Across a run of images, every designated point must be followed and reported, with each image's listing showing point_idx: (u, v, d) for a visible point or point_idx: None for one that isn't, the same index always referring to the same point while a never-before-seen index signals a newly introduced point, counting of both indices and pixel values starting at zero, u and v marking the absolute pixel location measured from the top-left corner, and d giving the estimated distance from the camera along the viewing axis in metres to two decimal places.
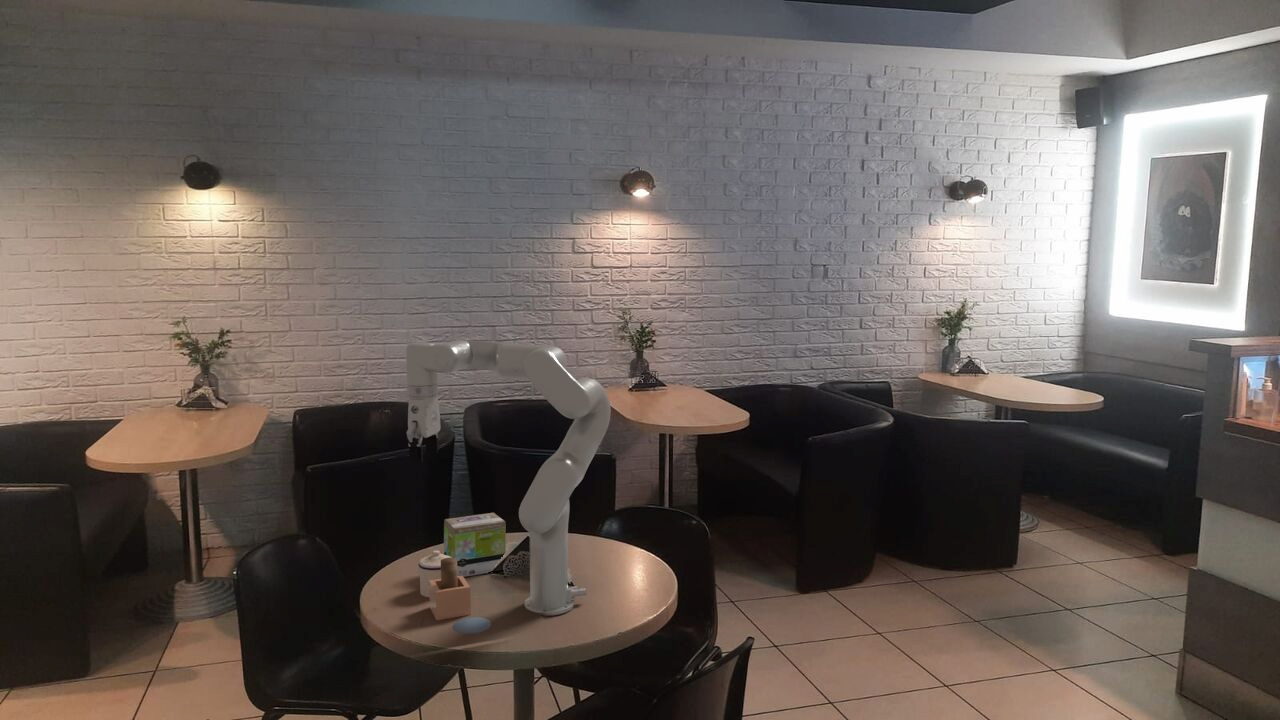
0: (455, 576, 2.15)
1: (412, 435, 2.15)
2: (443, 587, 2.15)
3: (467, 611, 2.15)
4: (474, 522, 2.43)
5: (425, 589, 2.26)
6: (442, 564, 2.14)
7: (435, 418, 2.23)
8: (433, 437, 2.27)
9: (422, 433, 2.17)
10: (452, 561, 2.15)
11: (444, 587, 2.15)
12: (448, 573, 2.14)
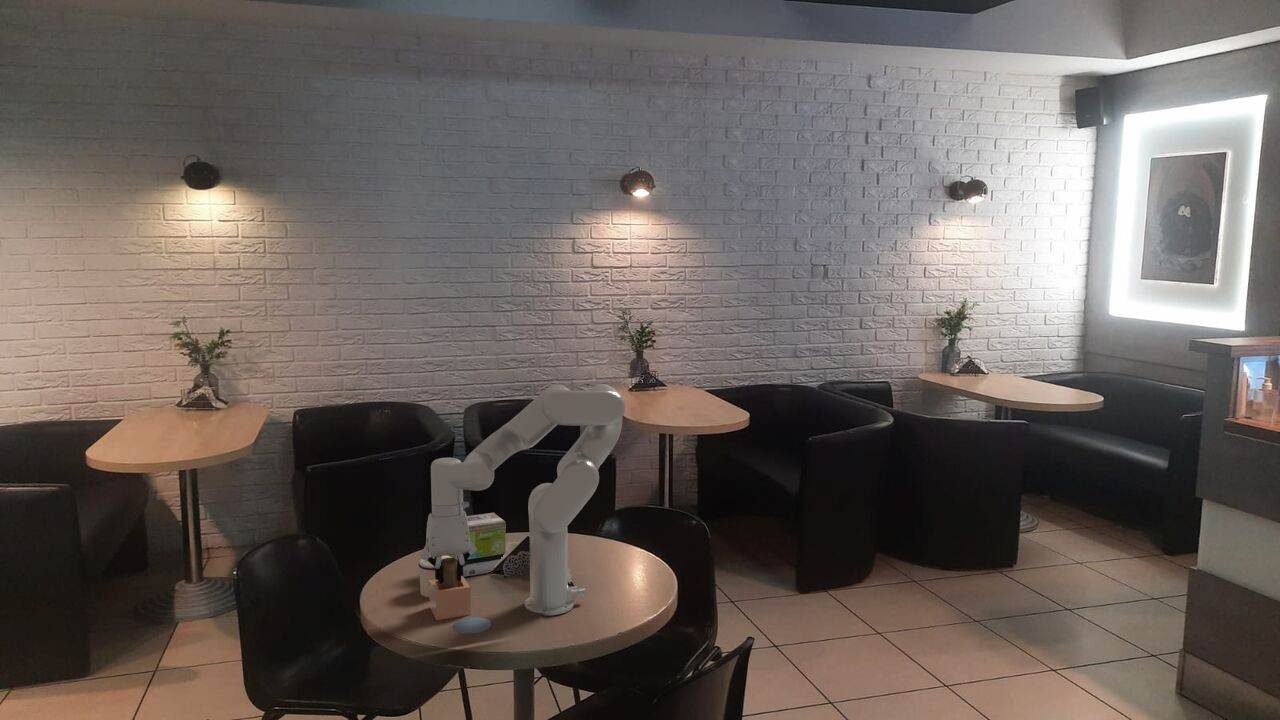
0: (455, 576, 2.15)
1: None
2: (443, 587, 2.15)
3: (467, 611, 2.15)
4: (474, 522, 2.43)
5: (425, 589, 2.26)
6: (442, 564, 2.14)
7: None
8: None
9: None
10: (452, 561, 2.15)
11: (444, 587, 2.15)
12: (448, 573, 2.14)
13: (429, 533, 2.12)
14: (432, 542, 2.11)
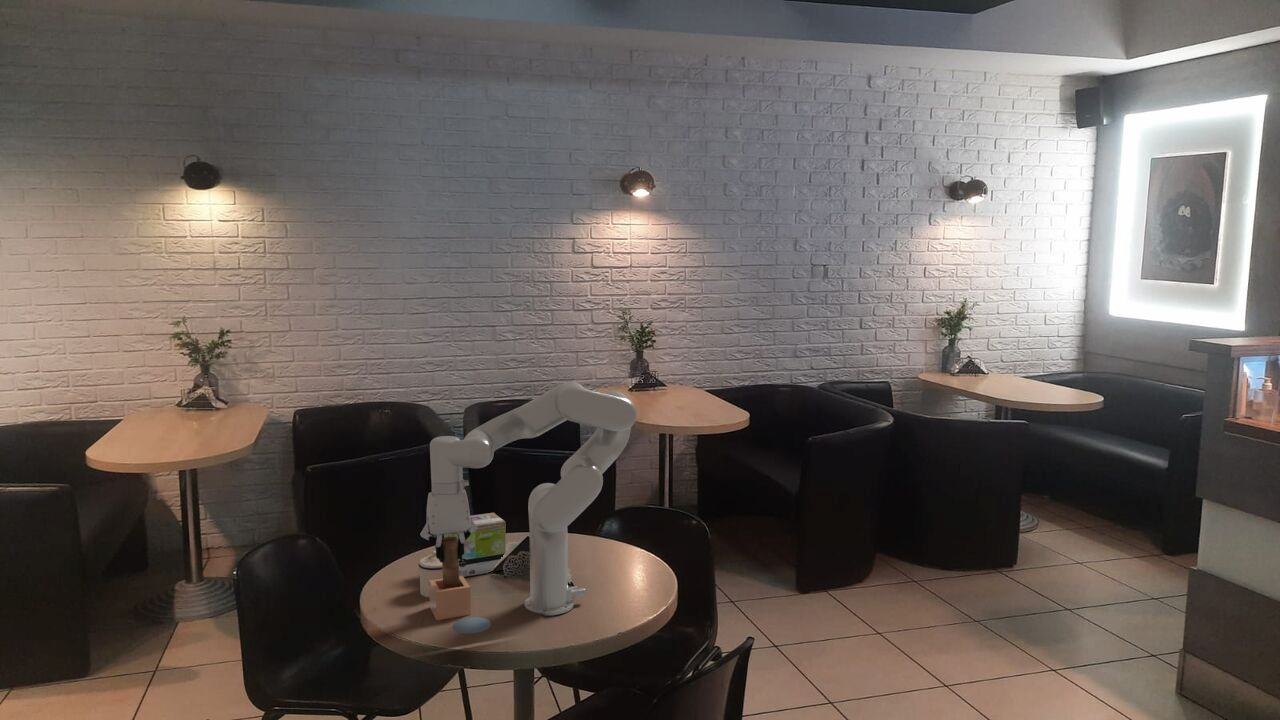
0: (456, 555, 2.15)
1: None
2: (444, 566, 2.14)
3: (467, 611, 2.15)
4: (474, 522, 2.43)
5: (425, 589, 2.26)
6: (443, 543, 2.14)
7: None
8: None
9: None
10: (453, 540, 2.14)
11: (445, 566, 2.14)
12: (449, 551, 2.14)
13: (429, 511, 2.11)
14: (432, 520, 2.11)
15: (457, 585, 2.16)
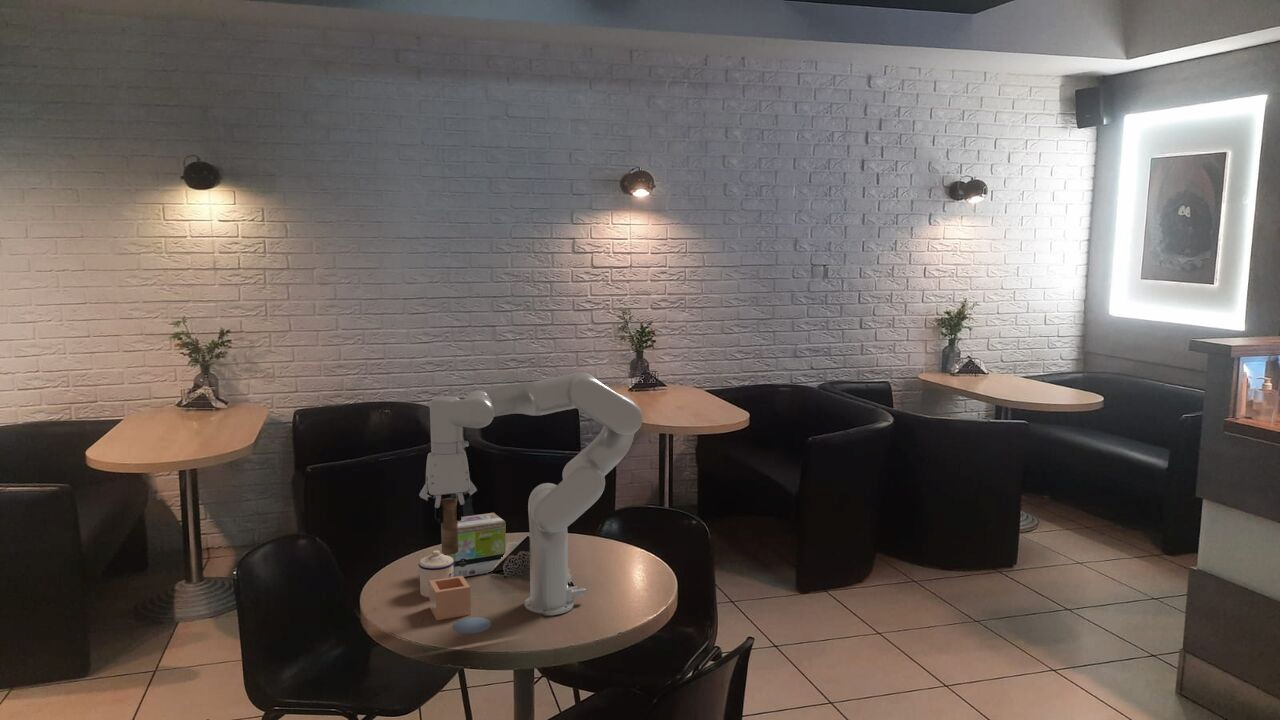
0: (455, 516, 2.13)
1: None
2: (443, 527, 2.13)
3: (467, 611, 2.15)
4: (474, 522, 2.43)
5: (425, 589, 2.26)
6: (442, 503, 2.12)
7: None
8: None
9: None
10: (452, 501, 2.13)
11: (444, 527, 2.13)
12: (448, 512, 2.12)
13: (428, 471, 2.10)
14: (431, 480, 2.09)
15: (456, 547, 2.14)
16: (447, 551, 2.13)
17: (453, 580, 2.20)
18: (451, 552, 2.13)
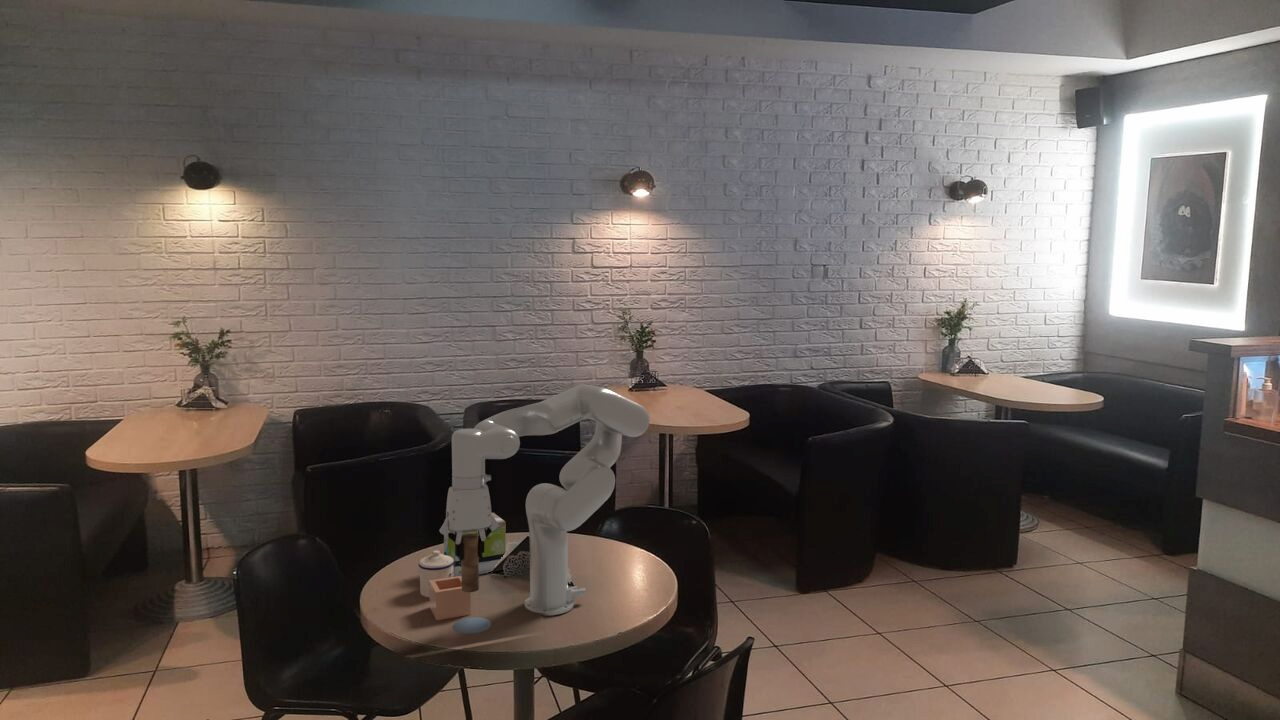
0: (476, 552, 2.06)
1: None
2: (463, 564, 2.05)
3: (467, 611, 2.15)
4: None
5: (425, 589, 2.26)
6: (462, 540, 2.05)
7: None
8: None
9: None
10: (473, 537, 2.05)
11: (464, 564, 2.05)
12: (469, 549, 2.05)
13: (449, 507, 2.02)
14: (453, 516, 2.02)
15: (476, 584, 2.07)
16: (467, 589, 2.06)
17: (453, 580, 2.20)
18: (472, 590, 2.06)
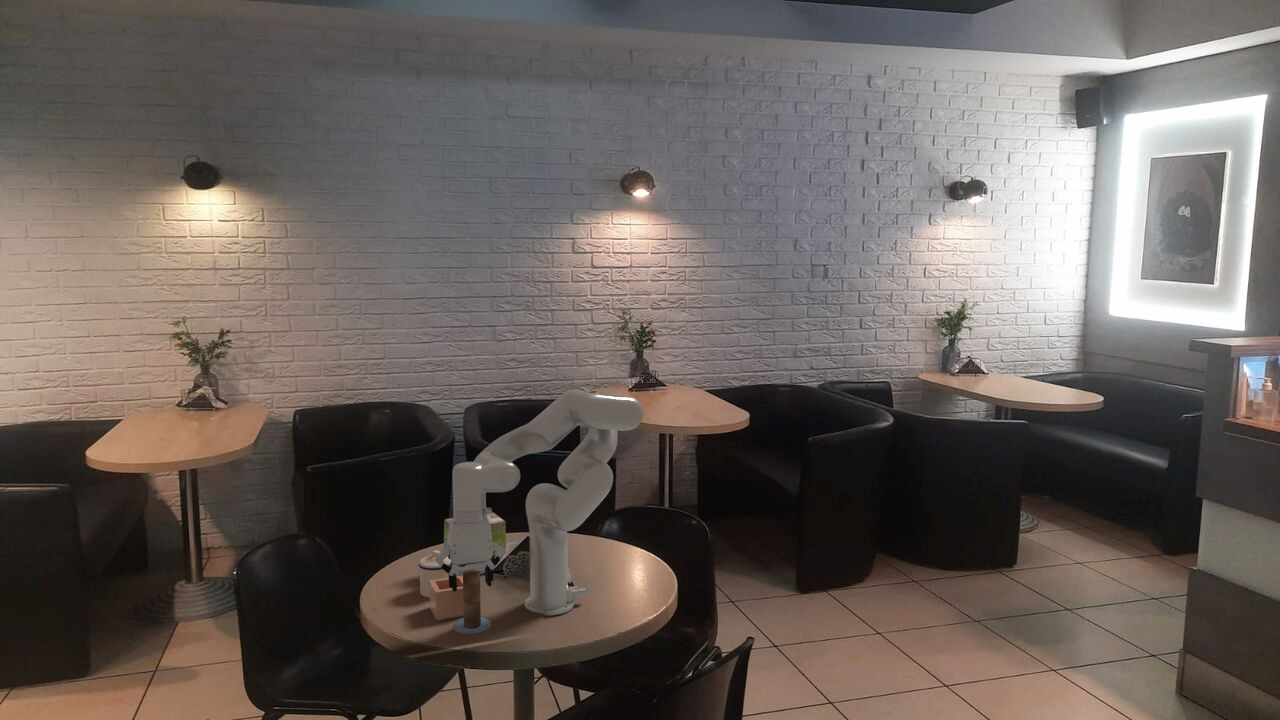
0: (478, 589, 2.07)
1: None
2: (465, 600, 2.07)
3: None
4: None
5: (425, 589, 2.26)
6: (464, 577, 2.06)
7: None
8: None
9: None
10: (475, 574, 2.07)
11: (466, 601, 2.07)
12: (471, 586, 2.06)
13: (451, 541, 2.03)
14: (454, 550, 2.03)
15: (478, 620, 2.08)
16: (469, 625, 2.07)
17: None
18: (474, 626, 2.07)
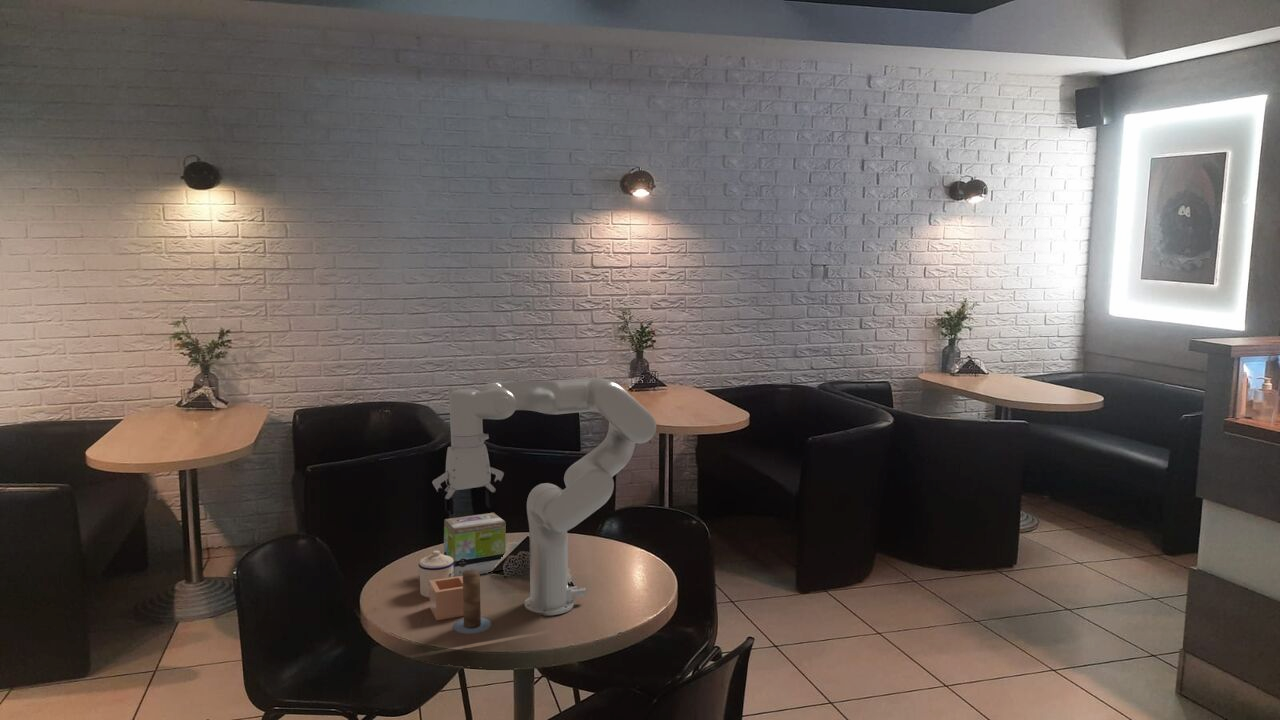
0: (478, 589, 2.07)
1: None
2: (465, 601, 2.07)
3: None
4: (474, 522, 2.43)
5: (425, 589, 2.26)
6: (464, 577, 2.06)
7: None
8: None
9: None
10: (475, 574, 2.07)
11: (466, 601, 2.07)
12: (471, 586, 2.06)
13: (449, 466, 2.06)
14: (453, 475, 2.06)
15: (478, 620, 2.08)
16: (469, 625, 2.07)
17: (453, 580, 2.20)
18: (474, 626, 2.07)
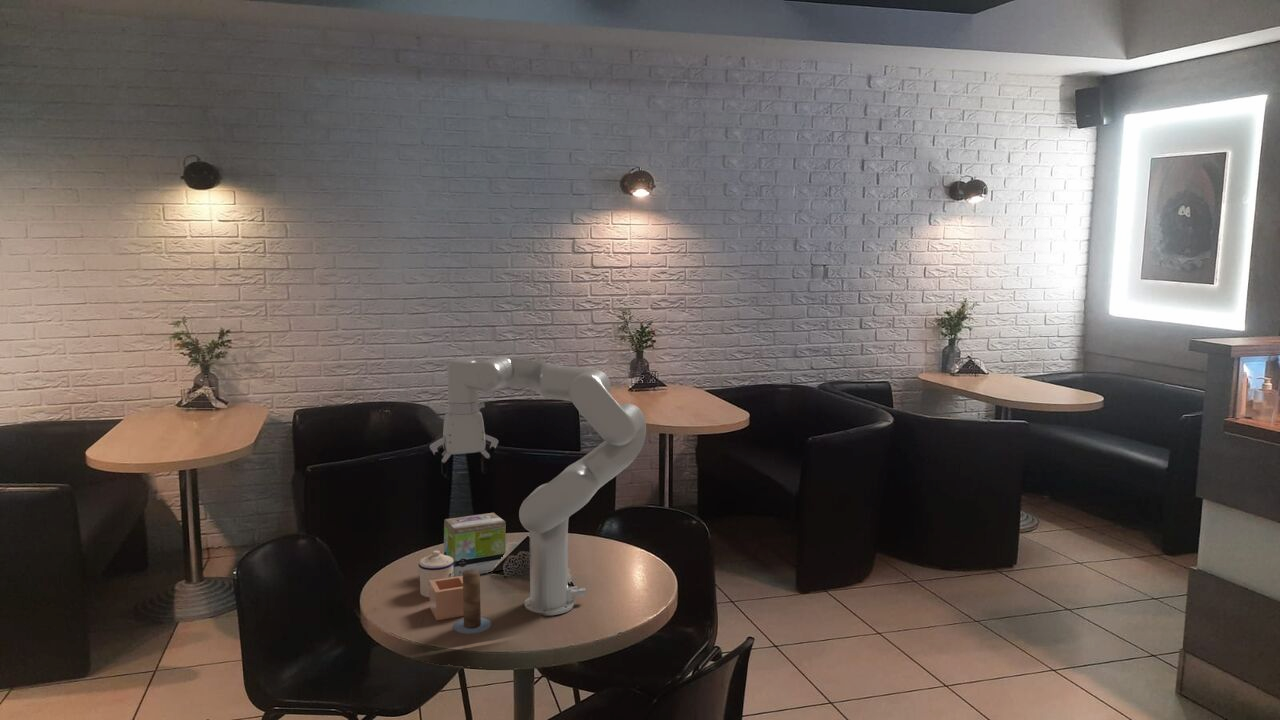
0: (478, 589, 2.07)
1: None
2: (465, 601, 2.07)
3: None
4: (474, 522, 2.43)
5: (425, 589, 2.26)
6: (464, 577, 2.06)
7: None
8: None
9: None
10: (475, 574, 2.07)
11: (466, 601, 2.07)
12: (471, 586, 2.06)
13: (446, 431, 2.17)
14: (449, 439, 2.17)
15: (478, 620, 2.08)
16: (469, 625, 2.07)
17: (453, 580, 2.20)
18: (474, 626, 2.07)
